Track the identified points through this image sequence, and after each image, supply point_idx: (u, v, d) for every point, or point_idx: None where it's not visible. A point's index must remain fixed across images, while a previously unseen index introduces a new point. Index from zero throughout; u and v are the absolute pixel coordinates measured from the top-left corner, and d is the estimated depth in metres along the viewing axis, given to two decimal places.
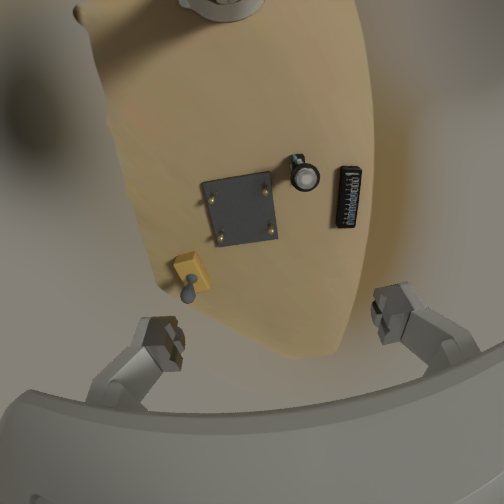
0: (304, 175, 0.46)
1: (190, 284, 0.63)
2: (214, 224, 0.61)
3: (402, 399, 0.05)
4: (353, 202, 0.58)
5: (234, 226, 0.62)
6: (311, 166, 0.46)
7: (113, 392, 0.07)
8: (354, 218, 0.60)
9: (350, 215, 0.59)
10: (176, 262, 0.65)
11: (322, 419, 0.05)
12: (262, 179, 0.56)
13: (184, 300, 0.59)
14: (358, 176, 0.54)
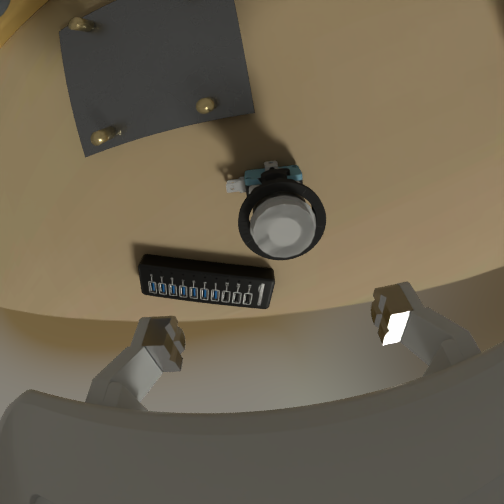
0: (299, 225, 0.15)
1: None
2: (112, 5, 0.13)
3: (402, 399, 0.05)
4: (197, 294, 0.29)
5: (105, 49, 0.16)
6: (317, 237, 0.17)
7: (113, 392, 0.07)
8: (162, 294, 0.29)
9: (168, 288, 0.29)
10: None
11: (323, 418, 0.05)
12: (235, 96, 0.19)
13: None
14: (253, 303, 0.30)
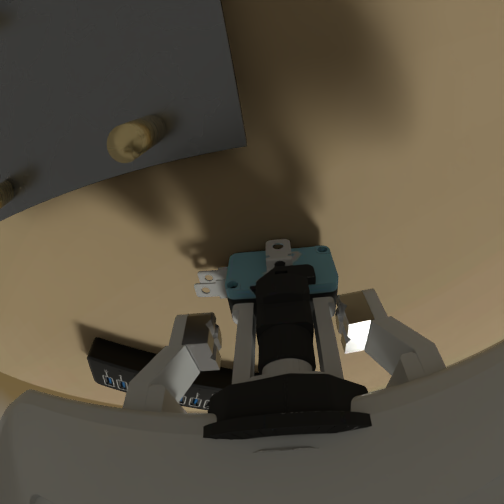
0: None
1: None
2: None
3: (402, 399, 0.05)
4: None
5: None
6: None
7: (156, 396, 0.07)
8: (122, 389, 0.18)
9: None
10: None
11: None
12: (204, 111, 0.09)
13: None
14: None
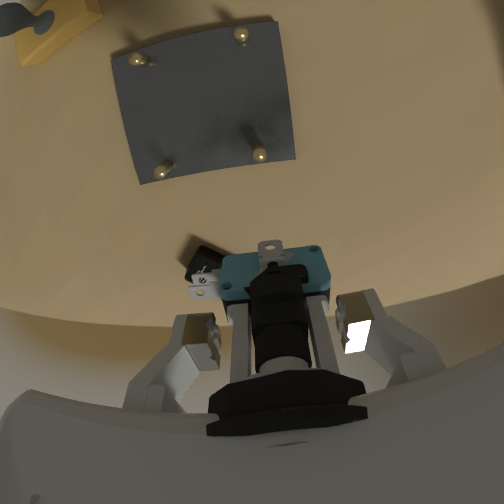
0: None
1: (30, 19, 0.10)
2: (169, 43, 0.19)
3: (402, 399, 0.05)
4: None
5: (163, 87, 0.21)
6: None
7: (155, 396, 0.07)
8: None
9: None
10: None
11: None
12: (280, 145, 0.25)
13: None
14: None
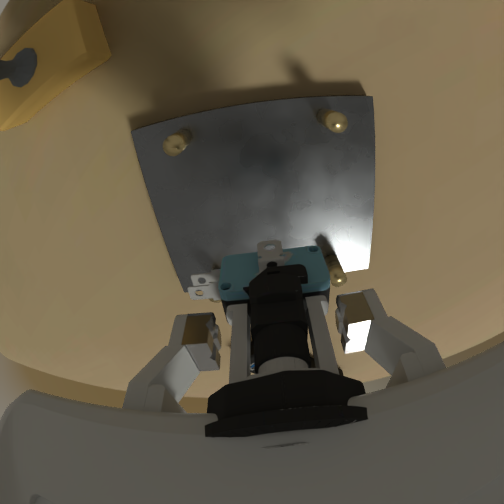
0: None
1: None
2: (220, 114, 0.15)
3: (402, 399, 0.05)
4: None
5: (213, 180, 0.18)
6: None
7: (155, 396, 0.07)
8: None
9: None
10: (77, 4, 0.08)
11: None
12: (355, 255, 0.21)
13: None
14: None
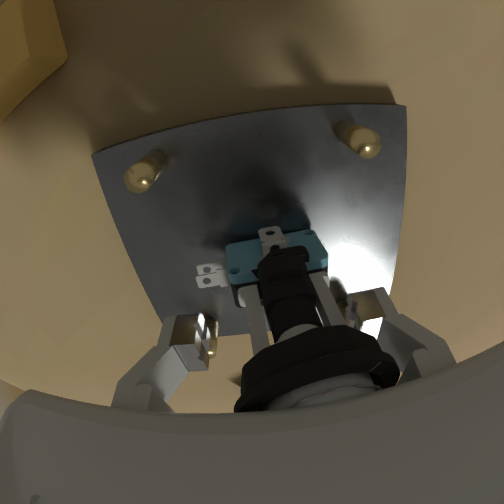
0: None
1: None
2: (204, 130, 0.11)
3: (402, 399, 0.05)
4: None
5: (198, 217, 0.14)
6: None
7: (142, 395, 0.07)
8: None
9: None
10: None
11: (323, 418, 0.05)
12: None
13: None
14: None
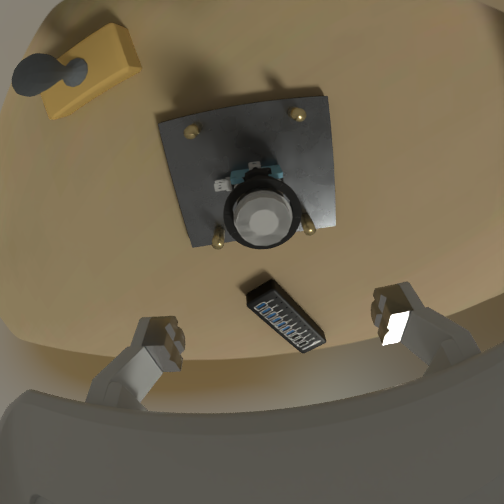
0: (276, 216, 0.17)
1: (62, 73, 0.14)
2: (221, 112, 0.23)
3: (402, 399, 0.05)
4: (282, 326, 0.37)
5: (216, 158, 0.25)
6: (294, 227, 0.19)
7: (113, 392, 0.07)
8: (260, 313, 0.35)
9: (270, 313, 0.35)
10: (117, 28, 0.15)
11: (323, 418, 0.05)
12: (324, 214, 0.29)
13: (20, 69, 0.10)
14: (301, 347, 0.40)
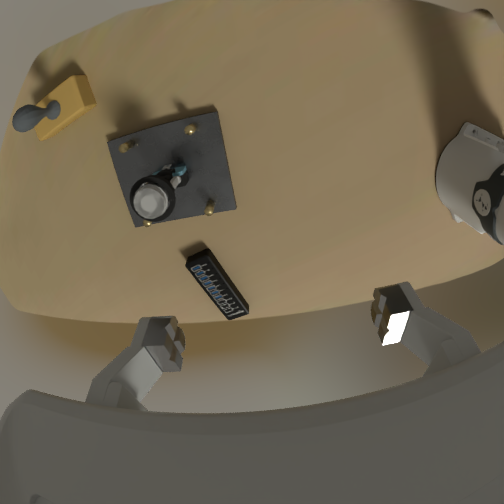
0: (155, 199, 0.27)
1: (43, 114, 0.23)
2: (145, 132, 0.32)
3: (402, 399, 0.05)
4: (211, 290, 0.46)
5: (144, 163, 0.34)
6: (171, 206, 0.29)
7: (113, 392, 0.07)
8: (195, 274, 0.44)
9: (203, 276, 0.44)
10: (77, 79, 0.25)
11: (323, 418, 0.05)
12: (225, 200, 0.38)
13: (16, 117, 0.19)
14: (227, 313, 0.49)
